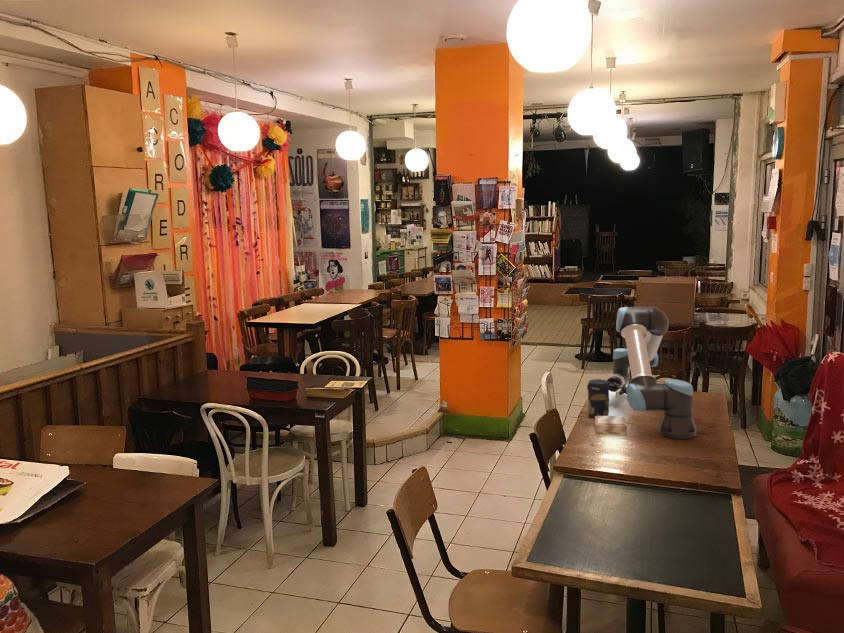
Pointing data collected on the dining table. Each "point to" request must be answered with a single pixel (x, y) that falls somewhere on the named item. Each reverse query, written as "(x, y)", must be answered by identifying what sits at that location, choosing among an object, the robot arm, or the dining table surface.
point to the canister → (598, 397)
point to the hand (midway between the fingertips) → (602, 393)
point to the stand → (610, 425)
